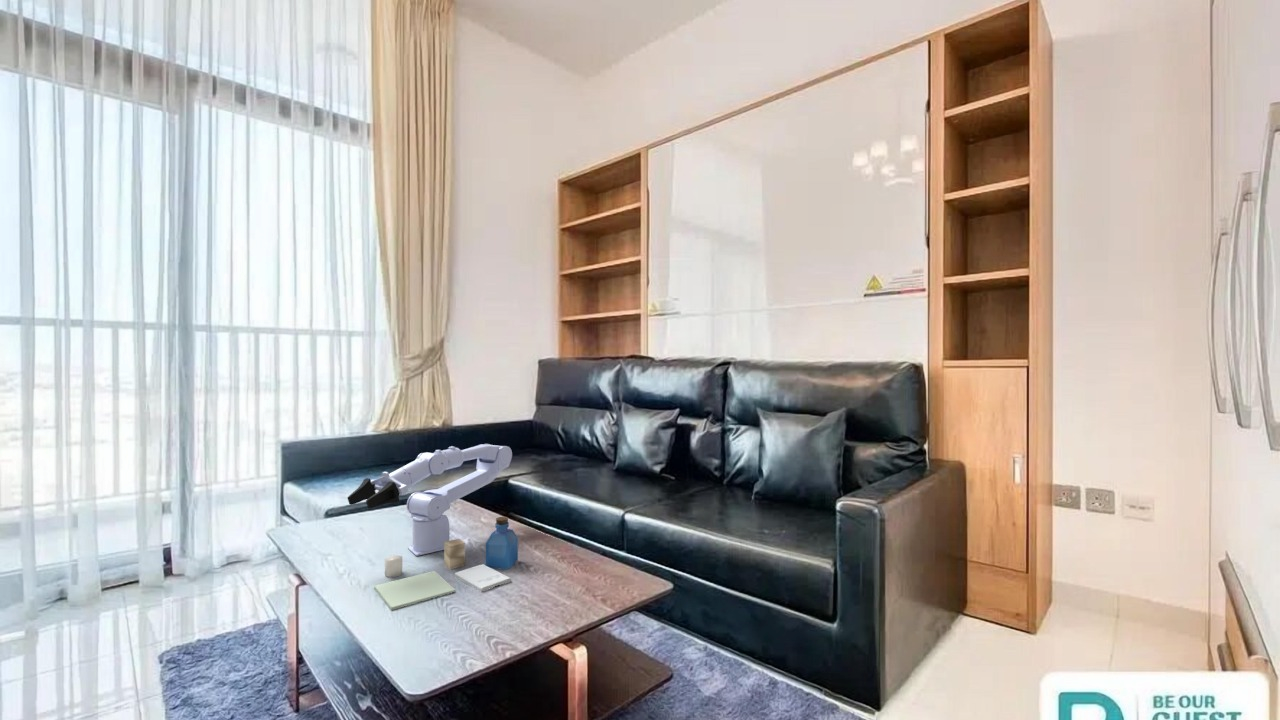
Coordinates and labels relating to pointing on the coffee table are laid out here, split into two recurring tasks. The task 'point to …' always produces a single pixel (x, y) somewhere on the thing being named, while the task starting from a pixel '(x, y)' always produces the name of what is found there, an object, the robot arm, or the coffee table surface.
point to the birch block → (454, 553)
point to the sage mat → (413, 589)
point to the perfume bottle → (502, 546)
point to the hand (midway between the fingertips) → (358, 502)
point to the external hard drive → (482, 577)
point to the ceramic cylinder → (393, 566)
